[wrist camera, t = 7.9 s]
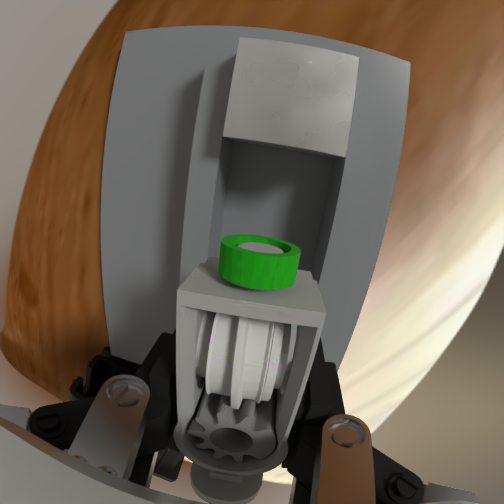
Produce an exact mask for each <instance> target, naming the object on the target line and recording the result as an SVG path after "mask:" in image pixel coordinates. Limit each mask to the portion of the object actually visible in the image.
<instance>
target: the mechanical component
mask: <svg viewBox="0 0 504 504" xmlns="http://www.w3.org/2000/svg"><path fill="white" fill-rule="evenodd" d="M300 254H301V250H300V248H299V247H297V246H296V245H294V244H292V243H289V242H287V241H284V240H280V239H276V238H272V237H266V236H259V235H246V234H238V235H228V236H225V237H223V238H222V239H221V244H220V253H219V257H212V256H210V257H209V258H208V260H207V261H206V262H205V263H200V264H199V265H198V266H197V267H196V268H195V269H194V271H193V272H192V273H191V274H190V275H189V276H188V277H187V279H186V280H185V281H184V282H183V283H182V284H181V285H180V287H179V288H178V289H177V309H176V385H177V413H178V421H177V424H176V426H175V429H174V433H173V436H174V441H175V443H176V446H177V447H178V449H179V450H180V451H181V452H182V453H183V454H184V455H185V456H186V457H187V458H188V459H190V460H191V461H193V464H192V467H191V473H190V474H191V485H192V488H193V490H194V491H195V493H196V494H197V495H198V496H199V497H200V498H201V499H203V500H204V501H206V502H208V503H209V504H246V503H248V502H250V501H252V500H253V499H254V498H255V496H256V495H257V494H258V492H259V489H260V487H261V484H262V478H263V473H264V472H267V471H269V470H272V469H274V468H276V467H277V466H279V465H280V464H281V463H282V462H283V461H284V460H285V458H286V456H287V454H288V436H289V433H290V430H291V428H292V425H293V422H294V419H295V416H296V414H297V411H298V408H299V405H300V402H301V399H302V396H303V393H304V390H305V387H306V383H307V380H308V377H309V374H310V371H311V367H312V364H313V361H314V357H315V354H316V350H317V347H318V343H319V340H320V336H321V332H322V329H323V325H324V321H325V317H326V313H327V312H326V309H325V306H324V303H323V299H322V296H321V293H320V290H319V287H318V284H317V281H316V280H313V277H312V274H311V272H310V271H305V270H298V264H299V259H300ZM295 341H296V344H295ZM294 347H295V351H294ZM293 353H294V358H293ZM292 360H293V363H292Z"/></svg>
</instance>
